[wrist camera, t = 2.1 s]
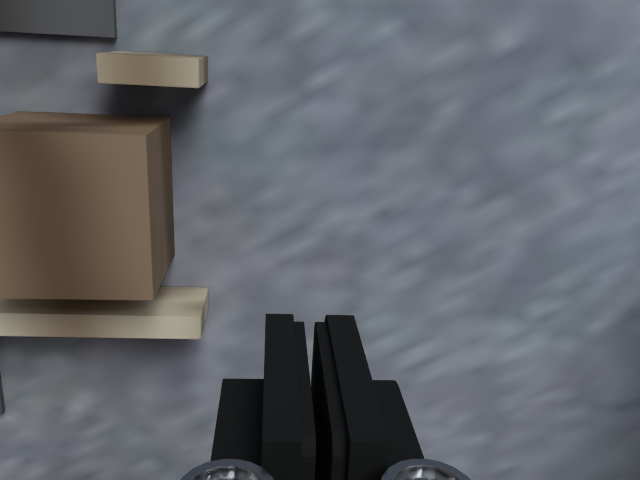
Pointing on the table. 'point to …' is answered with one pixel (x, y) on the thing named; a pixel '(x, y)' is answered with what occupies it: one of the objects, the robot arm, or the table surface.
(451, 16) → the table surface
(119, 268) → the block
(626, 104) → the table surface
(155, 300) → the trap lane
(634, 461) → the table surface
